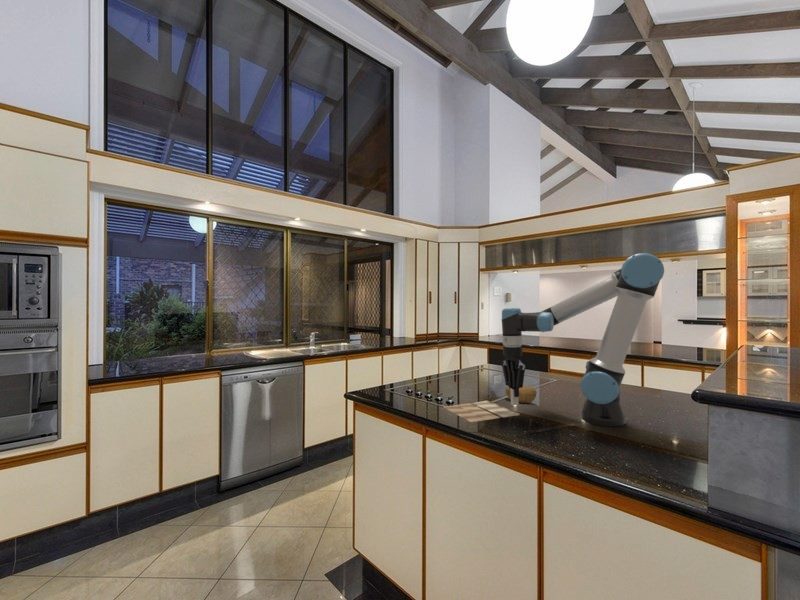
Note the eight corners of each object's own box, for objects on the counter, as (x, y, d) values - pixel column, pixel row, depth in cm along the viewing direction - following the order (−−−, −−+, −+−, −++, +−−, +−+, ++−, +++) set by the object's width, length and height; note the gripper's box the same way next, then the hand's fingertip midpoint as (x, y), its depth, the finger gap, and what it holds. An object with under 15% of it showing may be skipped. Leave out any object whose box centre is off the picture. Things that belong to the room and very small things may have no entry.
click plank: (519, 417, 148) (519, 413, 148) (503, 420, 145) (503, 416, 145) (486, 403, 168) (486, 400, 168) (471, 405, 165) (471, 402, 165)
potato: (510, 398, 178) (510, 381, 178) (539, 403, 169) (539, 386, 169) (501, 402, 170) (501, 385, 170) (532, 408, 161) (532, 390, 161)
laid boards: (501, 420, 144) (501, 417, 144) (470, 425, 139) (470, 422, 139) (469, 406, 165) (469, 403, 165) (442, 409, 160) (442, 406, 160)
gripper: (494, 345, 155) (497, 402, 154) (515, 348, 143) (518, 409, 142) (509, 344, 158) (511, 399, 157) (531, 346, 146) (533, 406, 145)
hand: (514, 404), depth 150 cm, fingers closed
